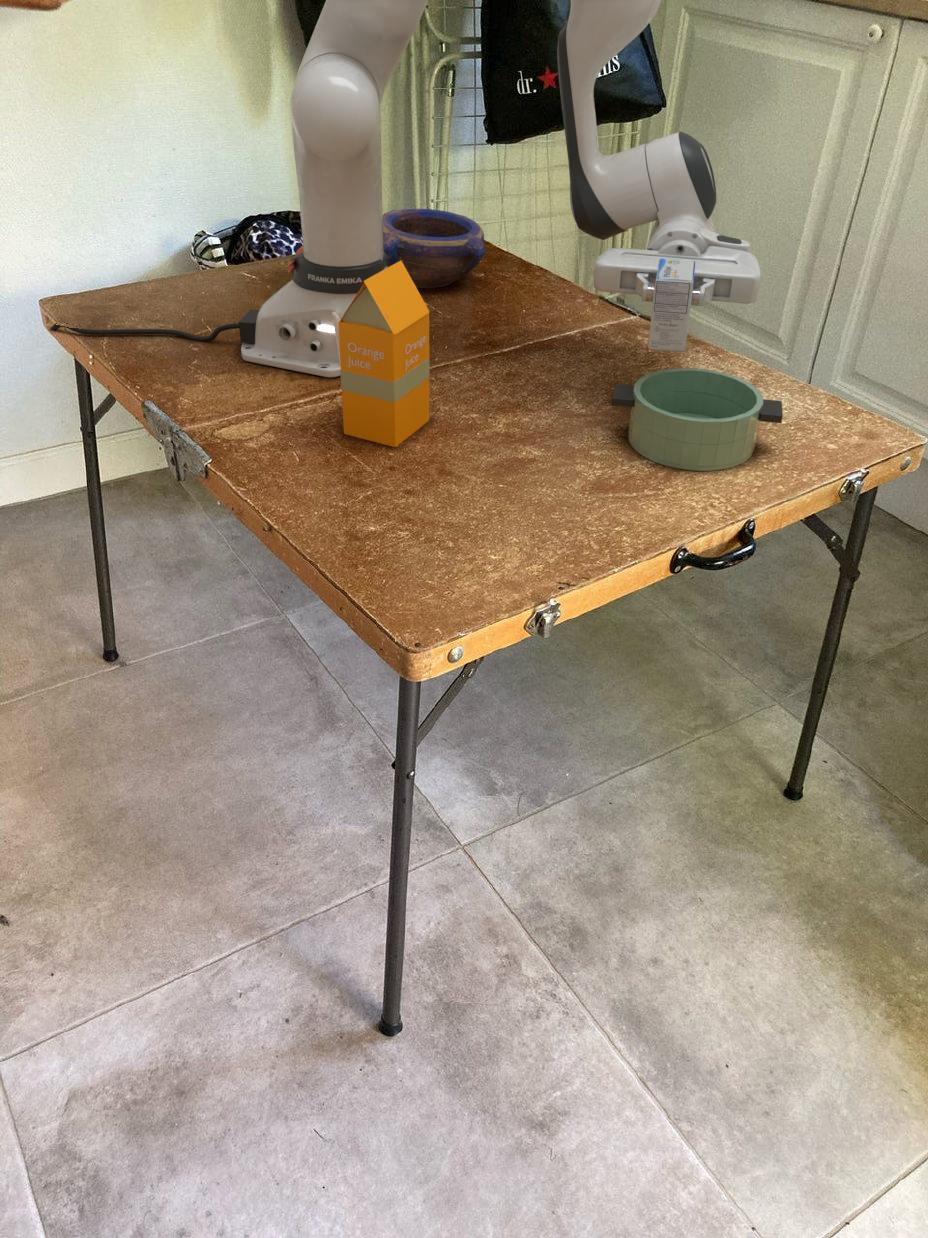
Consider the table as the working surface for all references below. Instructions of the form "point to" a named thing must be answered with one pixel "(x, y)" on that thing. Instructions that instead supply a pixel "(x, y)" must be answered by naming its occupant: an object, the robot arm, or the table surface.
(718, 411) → the pot
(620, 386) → the pot handles
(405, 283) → the orange juice
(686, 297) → the medicine box
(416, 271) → the bowl
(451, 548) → the table surface
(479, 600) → the table surface
